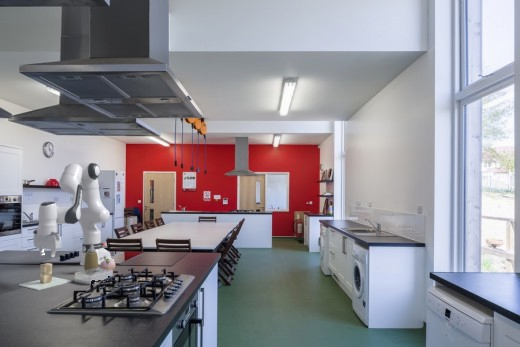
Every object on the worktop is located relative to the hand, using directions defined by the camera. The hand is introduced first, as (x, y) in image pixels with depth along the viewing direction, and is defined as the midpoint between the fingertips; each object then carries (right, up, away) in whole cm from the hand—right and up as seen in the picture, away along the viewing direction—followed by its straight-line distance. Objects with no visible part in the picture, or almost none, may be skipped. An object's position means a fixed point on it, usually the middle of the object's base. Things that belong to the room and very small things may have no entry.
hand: (47, 256), depth 186 cm
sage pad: (0, -15, -1) cm, 15 cm away
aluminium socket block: (+23, -15, +6) cm, 28 cm away
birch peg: (0, -14, -1) cm, 14 cm away
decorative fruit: (+24, -16, +20) cm, 35 cm away
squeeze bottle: (+12, -16, +24) cm, 31 cm away
